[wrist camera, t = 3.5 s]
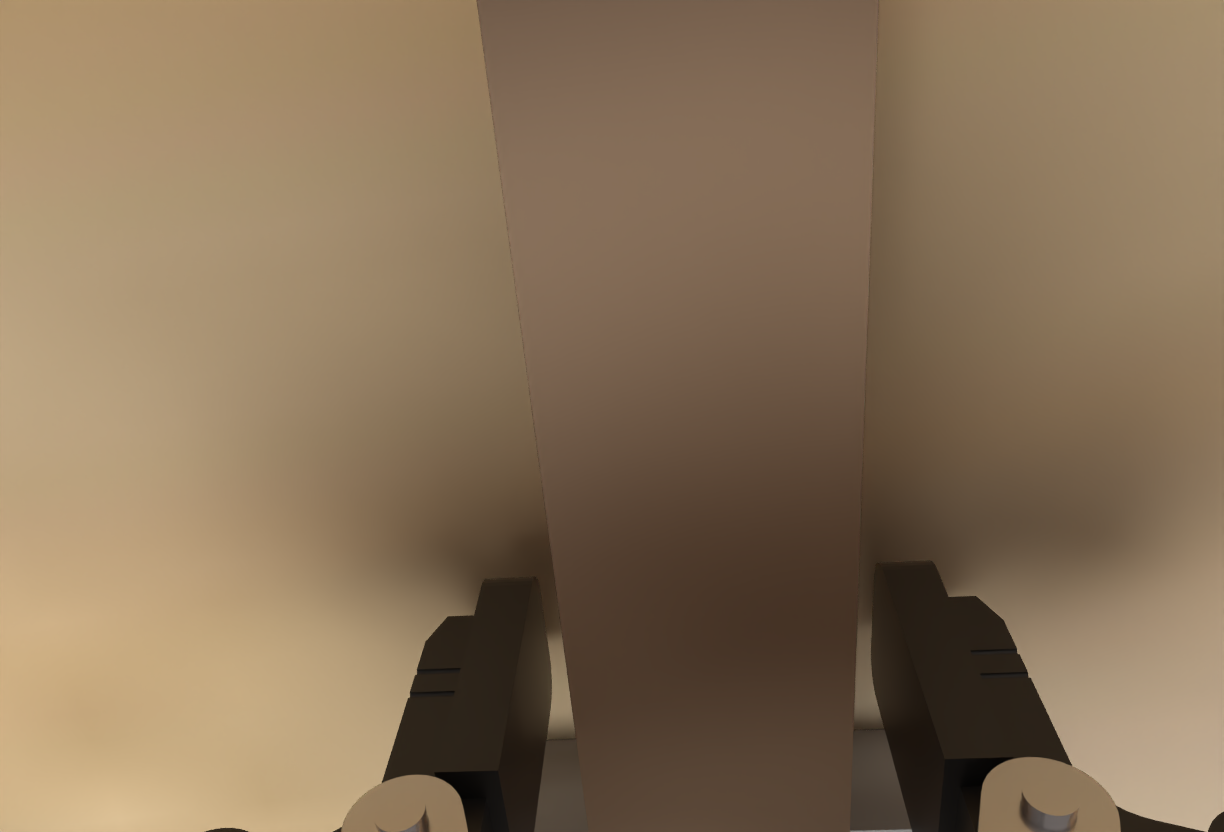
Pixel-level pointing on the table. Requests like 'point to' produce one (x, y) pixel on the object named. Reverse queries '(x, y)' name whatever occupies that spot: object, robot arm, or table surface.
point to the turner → (698, 398)
